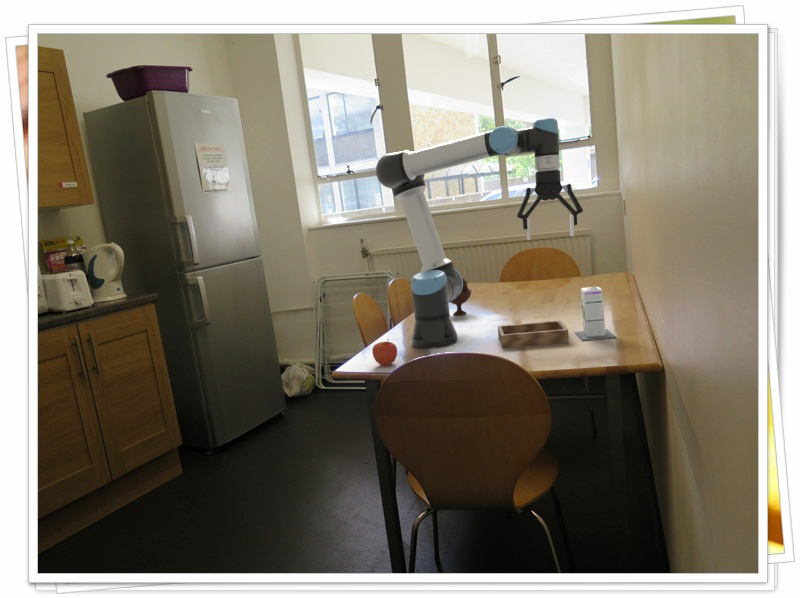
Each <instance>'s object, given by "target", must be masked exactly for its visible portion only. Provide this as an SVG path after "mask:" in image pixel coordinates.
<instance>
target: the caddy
mask: <svg viewBox="0 0 800 598" xmlns="http://www.w3.org/2000/svg"><path fill="white" fill-rule="evenodd" d="M497 334H498V340H499V343H500V345H501V348H502V349H509V348H520V347H521V348H522V347H533V346H534V347H535V346H544V345H554V344H555V345H557V344H568V343H570V334H569V329H568V327H566V326H565V324H564V323H563V322H562V321H561V320H551V321H541V322H540V321H538V322H529V323H528V322H527V323H516V324H505V325H497Z"/></svg>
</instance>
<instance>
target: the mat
mask: <svg viewBox="0 0 800 598" xmlns="http://www.w3.org/2000/svg"><path fill="white" fill-rule="evenodd" d="M574 334H575V335H576V336H577V337H578V338H579V340H581V342H582V341H583V342H587V341H596V340H598V341H599V340H608V339H609V340H610V339H617V336H616V335H615V334H614V333H613V332H611V331H610V330H609V329H608V328H605V336H595V337H587V336H586V335H585V333H584V330H581V331H574Z"/></svg>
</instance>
